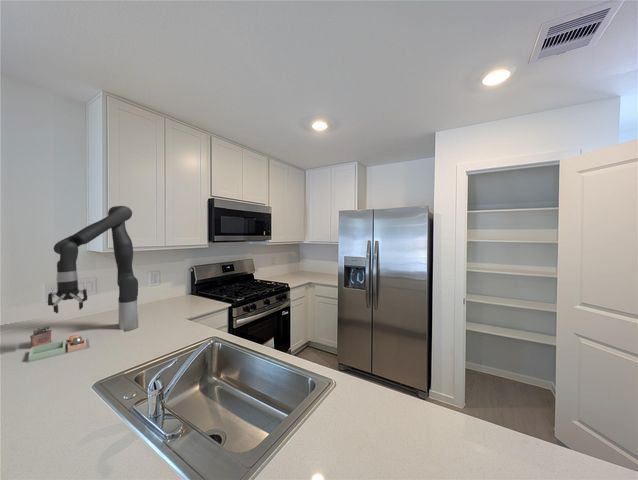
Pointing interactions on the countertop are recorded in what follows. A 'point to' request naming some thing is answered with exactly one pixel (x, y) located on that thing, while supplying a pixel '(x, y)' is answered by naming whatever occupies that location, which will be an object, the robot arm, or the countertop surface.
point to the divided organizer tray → (55, 349)
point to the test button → (72, 338)
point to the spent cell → (76, 340)
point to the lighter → (41, 337)
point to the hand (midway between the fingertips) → (68, 310)
